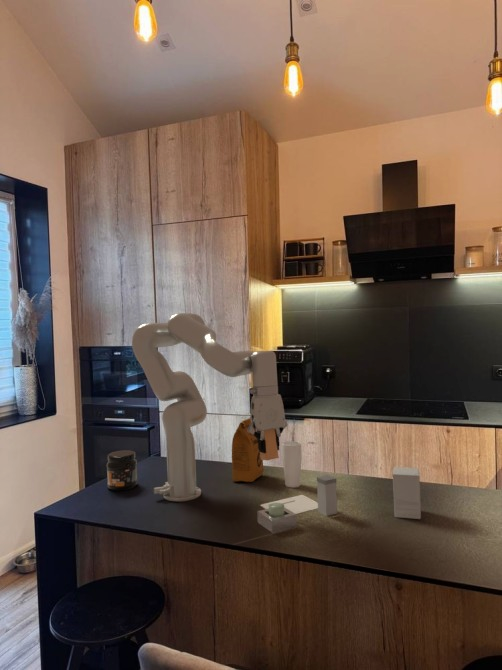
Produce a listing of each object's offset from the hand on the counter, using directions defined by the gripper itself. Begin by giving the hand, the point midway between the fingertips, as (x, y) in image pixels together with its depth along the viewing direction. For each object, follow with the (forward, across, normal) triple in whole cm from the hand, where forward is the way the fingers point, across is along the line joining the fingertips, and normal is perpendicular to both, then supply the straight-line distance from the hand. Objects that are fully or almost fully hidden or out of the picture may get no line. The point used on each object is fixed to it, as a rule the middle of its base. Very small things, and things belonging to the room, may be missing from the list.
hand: (269, 450), depth 145 cm
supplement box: (+19, +31, -25) cm, 44 cm away
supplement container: (+17, -33, +49) cm, 61 cm away
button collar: (+18, -5, -10) cm, 22 cm away
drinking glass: (+18, +17, +14) cm, 29 cm away
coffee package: (+18, +8, +30) cm, 36 cm away
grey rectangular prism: (+19, +12, -12) cm, 25 cm away
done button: (+16, -5, -11) cm, 20 cm away
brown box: (+2, 0, 0) cm, 2 cm away
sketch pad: (+18, +6, -2) cm, 19 cm away
